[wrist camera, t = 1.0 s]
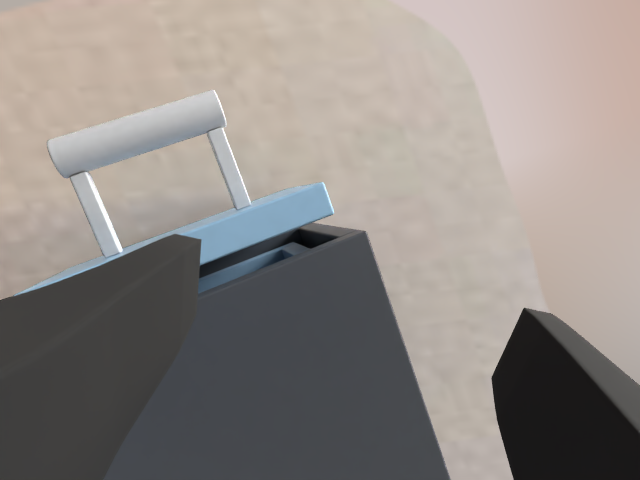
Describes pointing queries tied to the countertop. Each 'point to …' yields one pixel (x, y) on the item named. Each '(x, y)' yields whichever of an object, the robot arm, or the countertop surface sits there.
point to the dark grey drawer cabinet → (289, 377)
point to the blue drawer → (215, 231)
